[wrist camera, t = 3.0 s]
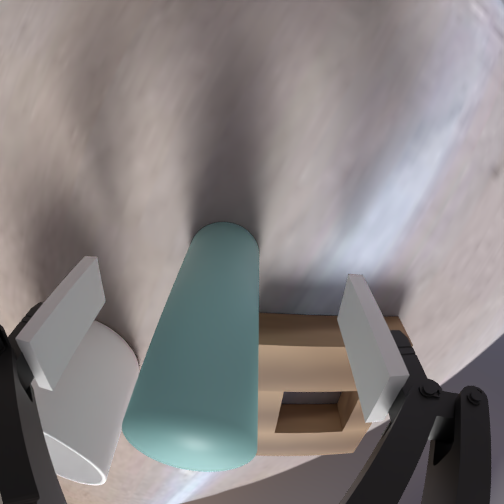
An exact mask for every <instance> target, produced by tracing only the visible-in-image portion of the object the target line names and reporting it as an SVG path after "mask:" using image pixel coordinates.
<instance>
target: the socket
mask: <svg viewBox="0 0 504 504" xmlns="http://www.w3.org/2000/svg"><path fill="white" fill-rule="evenodd" d="M337 317H338V316H325V315H297V314H276V313H259V348H258V438H257V453H256V455H258V456H309V455H329V454H344V453H353V452H354V450H355V449H356V448H357V446H358V444H359V443H360V441H361V440H362V438H363V437H364V435H365V433H366V432H367V430H368V429H369V427H370V425H371V424H372V422H369V423H365V420H364V415H363V411H362V407H361V404H360V400H359V396H358V392H357V388H356V384H355V381H354V377H353V373H352V370H351V366H350V362H349V359H348V355H347V352H346V348H345V345H344V341H343V338H342V334H341V331H340V327H339V324H338V321H337ZM384 319H385V321H386V323H387V326H388V328H389V330H400V331H401V332H402V333H403V334H405V335H406V336H407V337H408V339H409V341H410V343H411V345H412V346H413V344H412V342H411V340H410V338H409V336H408V334H407V332H406V331H405V329H404V327H403V325H402V323H401V321H400V319H399V317H384ZM338 391H342V393H341V395H340V398H339V400H338V403H337V404H281V402H282V398H283V393H284V392H338Z"/></svg>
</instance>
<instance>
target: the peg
mask: <svg viewBox="0 0 504 504" xmlns="http://www.w3.org/2000/svg"><path fill="white" fill-rule="evenodd" d="M258 348H259V248H258V245H257V243H256V240H255V239H254V237H253V236H252V235H251V234H250V233H249V232H248V231H247V230H246V229H244V228H243V227H241V226H239V225H237V224H234V223H229V222H216V223H212V224H209V225H207V226H205V227H203V228H202V229H201V230H199V232H198V233H197V234H196V235H195V236H194V238H193V240H192V242H191V245H190V247H189V249H188V252H187V254H186V256H185V259H184V261H183V263H182V266H181V268H180V270H179V273H178V275H177V278H176V280H175V283H174V285H173V287H172V290H171V292H170V295H169V297H168V300H167V302H166V305H165V307H164V310H163V312H162V315H161V317H160V320H159V322H158V325H157V328H156V330H155V333H154V335H153V338H152V341H151V343H150V346H149V349H148V351H147V354H146V357H145V359H144V362H143V365H142V367H141V370H140V373H139V376H138V379H137V381H136V384H135V387H134V390H133V393H132V395H131V398H130V401H129V404H128V407H127V410H126V413H125V416H124V419H123V422H122V431H123V434H124V436H125V437H126V439H127V440H128V441H129V443H130V444H132V445H133V446H134V447H135V448H136V449H137V450H139V451H140V452H142V453H143V454H145V455H146V456H148V457H150V458H152V459H154V460H156V461H159V462H161V463H164V464H167V465H170V466H173V467H177V468H181V469H186V470H192V471H203V472H216V471H225V470H231V469H235V468H238V467H241V466H243V465H245V464H247V463H248V462H250V461H251V460H252V459H253V458H254V457H255V455H256V453H257V438H258Z"/></svg>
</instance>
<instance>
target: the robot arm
mask: <svg viewBox="0 0 504 504" xmlns="http://www.w3.org/2000/svg"><path fill="white" fill-rule="evenodd" d="M105 302H106V300H105V295H104V290H103V285H102V280H101V275H100V269H99V264H98V258H97V257H92V256H84V257H83V259H82V260H81V261H80V262H79V263H78V264H77V265H76V266H75V267H74V268H73V269H72V271H71V272H70V273H69V274H68V275H67V276H66V277H65V278H64V280H63V281H62V282H61V283H60V284H59V285H58V286H57V288H56V289H55V290H54V291H53V292H52V293H51V295H50V296H49V297H48V298H47V299H46V301H45V302H44V303H41V302H40V303H38V304H37V305H35V306H34V307H32V308H31V309H30V311H29V312H28V313H27V314H26V316H25V317H24V318H23V319H22V320H21V322H20V323H19V324H18V325H17V326H16V328H15V329H14V330H13V331H12V333H11V334H10V335H9V337H7V335H6V333H5V330H4V328H3V327H2V326H1V325H0V493H1V497H2V501H3V504H67V503H66V500H65V498H64V495H63V492H62V490H61V487H60V484H59V482H58V479H57V476H56V473H55V470H54V467H53V464H52V461H51V458H50V454H49V451H48V448H47V444H46V441H45V437H44V433H43V429H42V426H41V422H40V417H39V413H38V409H37V404H36V399H35V394H34V389H33V387H32V385H31V382H32V381H33V379H34V378H35V380H36V382H37V384H38V386H39V387H41V388H44V389H48V390H51V391H53V390H54V388H55V387H56V385H57V383H58V381H59V379H60V377H61V376H62V374H63V372H64V370H65V368H66V367H67V365H68V363H69V361H70V360H71V358H72V356H73V354H74V353H75V351H76V349H77V348H78V346H79V344H80V343H81V341H82V339H83V338H84V336H85V334H86V333H87V331H88V329H89V328H90V326H91V324H92V323H93V321H94V320H95V318H96V316H97V315H98V313H99V312H100V310H101V308H102V307H103V305H104V304H105ZM337 321H338V324H339V327H340V331H341V334H342V338H343V341H344V345H345V348H346V352H347V355H348V359H349V362H350V366H351V370H352V373H353V377H354V381H355V384H356V388H357V392H358V396H359V400H360V404H361V407H362V411H363V415H364V420H365V423H369V422H380V421H383V420H384V419H385V417H386V416H387V414H388V413H389V416H390V419H391V421H390V423H389V424H388V426H387V427H386V429H385V430H384V432H383V433H382V437H381V439H380V441H379V442H378V444H377V446H376V448H375V449H374V451H373V452H372V454H371V456H370V458H369V459H368V461H367V462H366V464H365V466H364V467H363V469H362V470H361V472H360V473H359V475H358V477H357V478H356V480H355V481H354V483H353V484H352V486H351V487H350V488H349V490H348V491H347V493H346V494H345V496H344V497H343V499H342V500H341V501H340V503H339V504H398V502H399V500H400V498H401V496H402V494H403V492H404V490H405V488H406V486H407V484H408V482H409V480H410V478H411V476H412V474H413V472H414V470H415V468H416V465H417V463H418V461H419V459H420V457H421V454H422V452H423V449H424V447H425V445H426V442H427V440H431V442H430V451H429V459H428V466H427V473H426V479H425V485H424V490H423V496H422V501H421V504H489V503H490V488H491V435H490V418H489V407H488V399H487V396H486V394H485V393H484V392H483V391H482V390H481V389H480V388H478V387H475V386H467V387H464V388H463V390H462V391H461V392H460V394H457V393H450V392H444V391H442V388H441V387H440V386H439V384H438V383H436V382H435V381H433V380H431V379H427V377H426V374H425V372H424V370H423V368H422V366H421V364H420V362H419V360H418V357H417V355H415V351H414V349H413V348H412V345H411V343H410V341H409V339H408V337H407V336H406V335H405V334H403V333H402V332H401V331H400V330H389V328H388V326H387V323H386V321H385V319H384V317H383V315H382V313H381V311H380V309H379V307H378V305H377V302H376V300H375V298H374V296H373V294H372V292H371V290H370V288H369V286H368V284H367V282H366V280H365V278H364V276H363V275H356V274H348V277H347V281H346V285H345V290H344V294H343V298H342V302H341V306H340V310H339V313H338V317H337Z"/></svg>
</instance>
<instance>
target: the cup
mask: <svg viewBox="0 0 504 504" xmlns="http://www.w3.org/2000/svg"><path fill="white" fill-rule="evenodd" d="M138 376H139V365H138V361H137V359H136V356H135V354H134V352H133V350H132V349H131V347H130V346H129V345H128V343H127V342H126V341H125V340H124V339H123V338H122V337H121V336H120V335H119V334H117V333H116V332H115V331H113V330H112V329H111V328H109V327H107V326H106V325H104V324H102V323H100V322H98V321H95V320H94V321H93V323H92V324H91V326H90V328H89V329H88V331H87V333H86V334H85V336H84V338H83V339H82V341H81V343H80V344H79V346H78V348H77V349H76V351H75V353H74V354H73V356H72V358H71V360H70V361H69V363H68V365H67V367H66V368H65V370H64V372H63V374H62V376H61V377H60V379H59V381H58V383H57V385H56V387H55V388H54V390H53V391H51V390H48V389H44V388H41V387H39V386H38V384H37V382H36V380H35V378H34V379H33V381H32V382H31V385H32V387H33V389H34V394H35V399H36V404H37V409H38V413H39V417H40V422H41V426H42V429H43V433H44V437H45V441H46V444H47V448H48V451H49V454H50V458H51V461H52V464H53V467H54V470H55V473H56V474H57V475H59V476H61V477H64V478H66V479H69V480H72V481H75V482H79V483H83V484H88V485H101V484H103V483H105V482H106V479H107V476H108V472H109V469H110V466H111V462H112V459H113V456H114V452H115V449H116V446H117V443H118V440H119V437H120V433H121V430H122V422H123V419H124V416H125V413H126V410H127V407H128V404H129V401H130V398H131V395H132V393H133V390H134V387H135V384H136V381H137V379H138Z"/></svg>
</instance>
